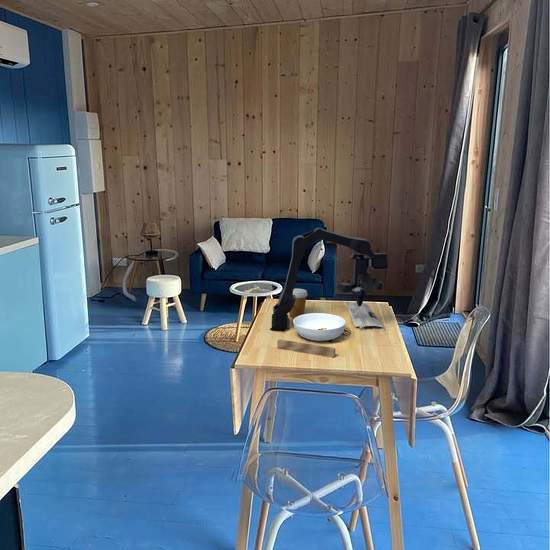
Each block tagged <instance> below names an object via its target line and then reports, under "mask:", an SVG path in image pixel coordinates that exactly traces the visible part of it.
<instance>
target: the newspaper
mask: <svg viewBox="0 0 550 550" xmlns="http://www.w3.org/2000/svg"><path fill="white" fill-rule="evenodd" d="M345 302H346V306H347V309H348V313H349V315H350V319H351V320H352V323H353V325H354V327H355V328H357V327H358V328H359V329H360V330H361V331H365V330H366V329H365V327H372V329H373V330H374V331H377V330H378V331H379V330H380V331H386V328H385V327H384V325H383V324H382V323H381V321H380V319H378V317H377V315H376V314H375V313H374V312H373V310H372V309H371V307H370V306H369V305H368V304H367V303H366V302H363V303H362V305H361V306H360V307H359V306H358V304H357V302H356V301H355V302H351V301H347V300H345Z"/></svg>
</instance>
